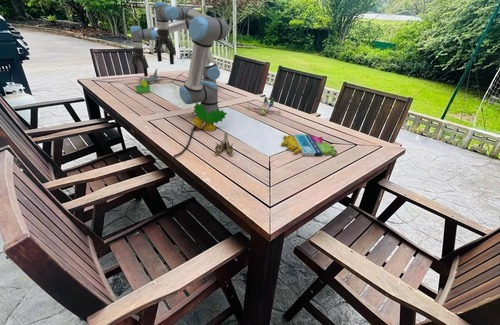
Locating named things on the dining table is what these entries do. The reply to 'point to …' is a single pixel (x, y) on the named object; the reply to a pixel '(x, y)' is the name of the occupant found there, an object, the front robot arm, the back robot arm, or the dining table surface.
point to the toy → (265, 107)
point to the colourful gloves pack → (308, 145)
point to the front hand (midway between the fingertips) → (165, 62)
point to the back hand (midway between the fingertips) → (141, 75)
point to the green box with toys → (143, 87)
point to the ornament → (207, 117)
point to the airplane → (151, 78)
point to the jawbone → (224, 145)
